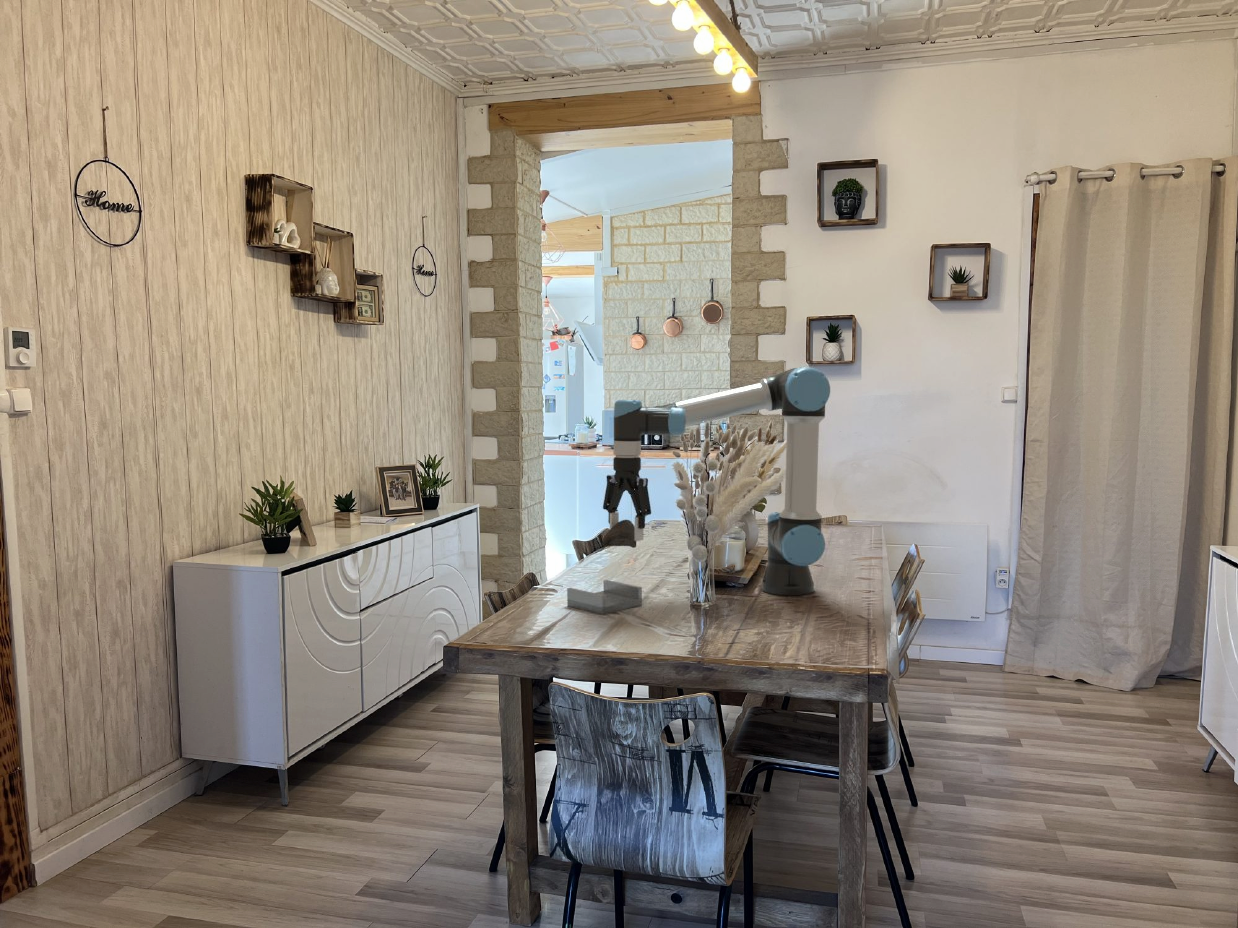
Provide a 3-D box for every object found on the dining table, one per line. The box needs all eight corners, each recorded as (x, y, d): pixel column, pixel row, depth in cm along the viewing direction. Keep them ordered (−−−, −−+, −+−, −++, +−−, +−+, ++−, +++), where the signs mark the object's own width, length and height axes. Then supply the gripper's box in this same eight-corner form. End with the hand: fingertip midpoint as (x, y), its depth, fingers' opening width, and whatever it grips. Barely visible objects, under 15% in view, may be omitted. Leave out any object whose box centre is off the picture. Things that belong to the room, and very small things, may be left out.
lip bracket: (641, 604, 248) (641, 587, 248) (602, 614, 238) (602, 596, 237) (606, 596, 258) (606, 579, 258) (567, 606, 248) (567, 588, 247)
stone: (617, 563, 242) (644, 538, 241) (596, 540, 243) (623, 514, 242) (621, 562, 251) (647, 537, 251) (601, 539, 252) (627, 515, 252)
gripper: (665, 458, 240) (664, 541, 242) (609, 453, 256) (608, 531, 258) (646, 459, 235) (645, 544, 237) (590, 454, 250) (589, 534, 252)
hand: (626, 538), depth 247 cm, fingers closed on stone, 9 cm apart
